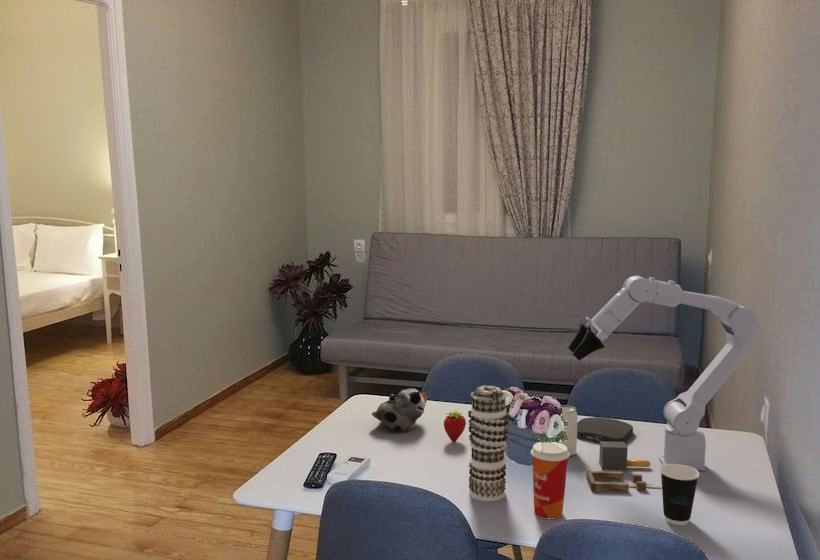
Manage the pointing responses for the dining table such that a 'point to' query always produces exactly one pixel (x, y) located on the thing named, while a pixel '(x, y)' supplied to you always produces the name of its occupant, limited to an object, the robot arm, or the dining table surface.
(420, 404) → the lucky cat figurine
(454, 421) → the strawberry
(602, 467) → the grey block with handle
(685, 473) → the dixie cup
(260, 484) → the dining table surface
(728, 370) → the robot arm
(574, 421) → the can
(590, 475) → the holder
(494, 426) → the decorative candle
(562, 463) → the coffee cup
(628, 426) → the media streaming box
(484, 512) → the dining table surface
